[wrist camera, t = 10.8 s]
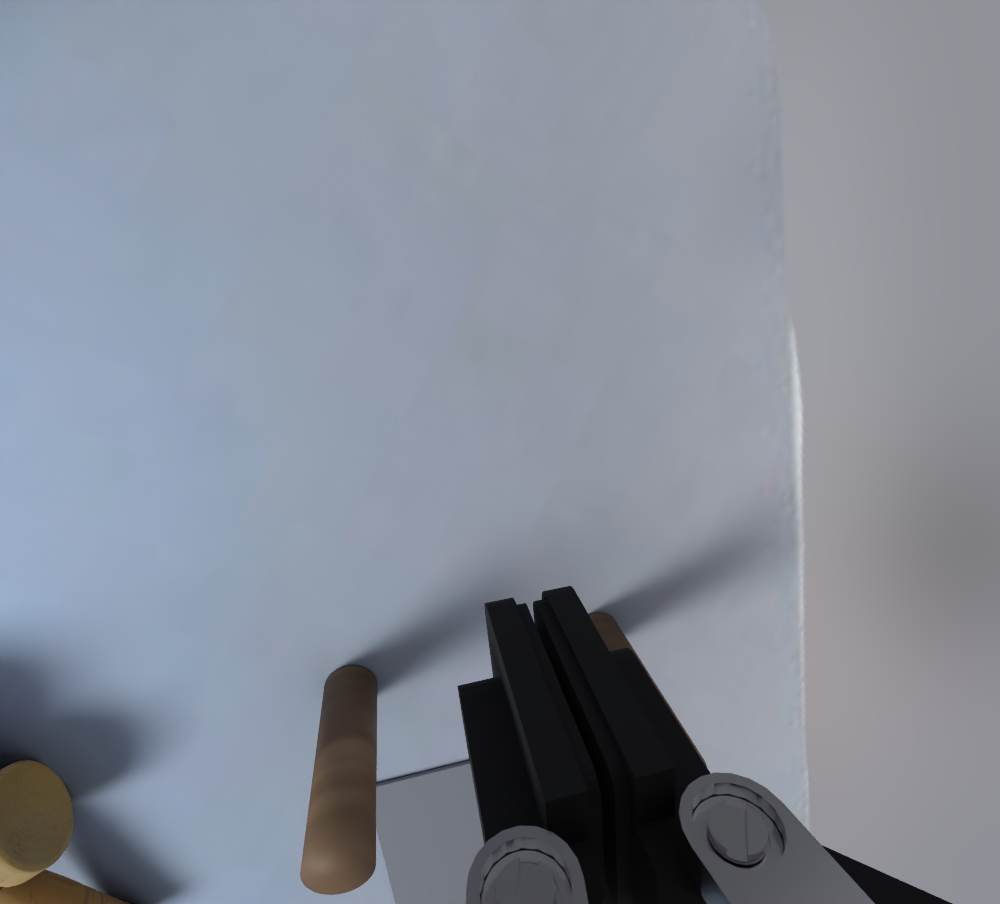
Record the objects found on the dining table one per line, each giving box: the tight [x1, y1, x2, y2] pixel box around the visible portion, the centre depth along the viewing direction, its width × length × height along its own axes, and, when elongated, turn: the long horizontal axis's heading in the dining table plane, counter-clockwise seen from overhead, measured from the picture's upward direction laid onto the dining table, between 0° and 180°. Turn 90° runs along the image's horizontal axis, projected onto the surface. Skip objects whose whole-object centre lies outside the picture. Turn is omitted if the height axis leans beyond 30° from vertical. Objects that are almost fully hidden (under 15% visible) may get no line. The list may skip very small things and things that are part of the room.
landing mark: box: [376, 760, 484, 904], centre depth 34 cm, size 14×14×1 cm
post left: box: [300, 665, 377, 895], centre depth 24 cm, size 3×3×9 cm
